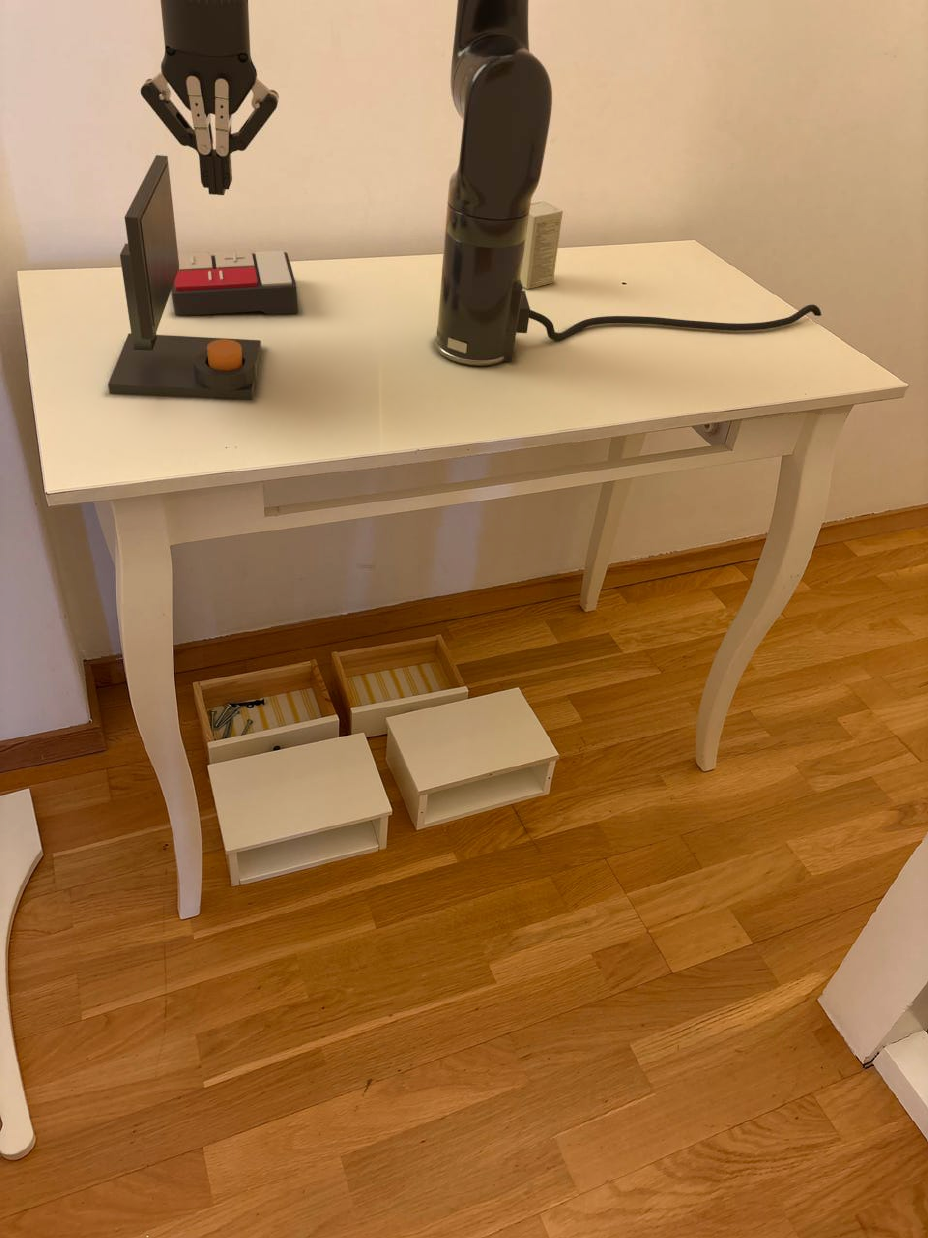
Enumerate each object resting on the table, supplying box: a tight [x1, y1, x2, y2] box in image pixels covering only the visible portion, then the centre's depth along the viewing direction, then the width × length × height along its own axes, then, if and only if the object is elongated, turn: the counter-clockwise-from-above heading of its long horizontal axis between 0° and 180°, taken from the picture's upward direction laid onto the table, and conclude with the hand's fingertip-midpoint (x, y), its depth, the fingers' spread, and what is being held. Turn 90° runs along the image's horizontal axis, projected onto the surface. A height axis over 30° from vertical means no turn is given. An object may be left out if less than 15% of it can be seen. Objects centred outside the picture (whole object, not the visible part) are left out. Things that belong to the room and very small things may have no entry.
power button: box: [207, 338, 242, 371], centre depth 103 cm, size 4×4×2 cm
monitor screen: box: [124, 154, 179, 340], centre depth 98 cm, size 2×18×12 cm, turn 4°
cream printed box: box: [520, 200, 563, 290], centre depth 132 cm, size 5×4×10 cm
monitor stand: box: [119, 243, 158, 350], centre depth 101 cm, size 2×3×10 cm, turn 5°
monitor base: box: [107, 332, 262, 401], centre depth 106 cm, size 15×12×3 cm
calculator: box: [170, 250, 299, 317], centre depth 121 cm, size 11×4×15 cm
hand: (217, 191), depth 95 cm, fingers closed
